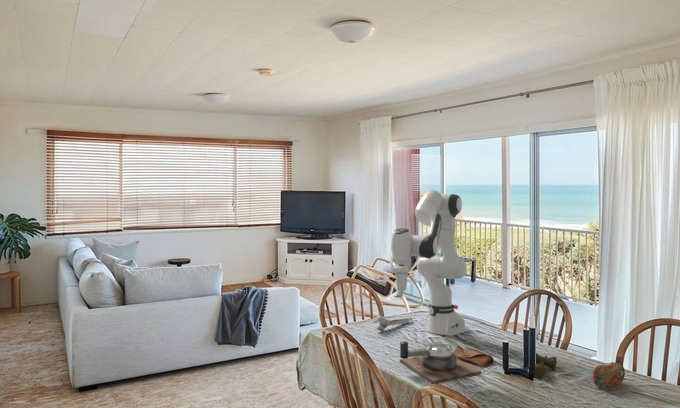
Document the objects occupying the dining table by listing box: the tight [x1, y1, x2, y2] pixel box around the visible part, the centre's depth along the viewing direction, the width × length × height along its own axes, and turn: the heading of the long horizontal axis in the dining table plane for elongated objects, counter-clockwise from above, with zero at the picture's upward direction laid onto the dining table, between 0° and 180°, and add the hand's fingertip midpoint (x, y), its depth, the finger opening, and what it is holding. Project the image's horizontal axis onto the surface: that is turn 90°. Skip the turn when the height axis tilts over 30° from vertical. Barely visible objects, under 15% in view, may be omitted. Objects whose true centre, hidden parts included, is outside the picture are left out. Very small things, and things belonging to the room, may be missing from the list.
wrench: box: [373, 315, 413, 332], centre depth 254 cm, size 8×2×30 cm
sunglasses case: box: [453, 345, 494, 369], centre depth 208 cm, size 18×7×7 cm, turn 46°
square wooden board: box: [399, 354, 482, 384], centre depth 199 cm, size 24×24×5 cm
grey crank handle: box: [399, 341, 454, 360], centre depth 197 cm, size 23×11×7 cm, turn 105°
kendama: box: [534, 352, 558, 380], centre depth 197 cm, size 6×10×20 cm
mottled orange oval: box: [592, 361, 626, 390], centre depth 182 cm, size 15×3×8 cm, turn 114°
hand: (400, 296), depth 211 cm, fingers closed
